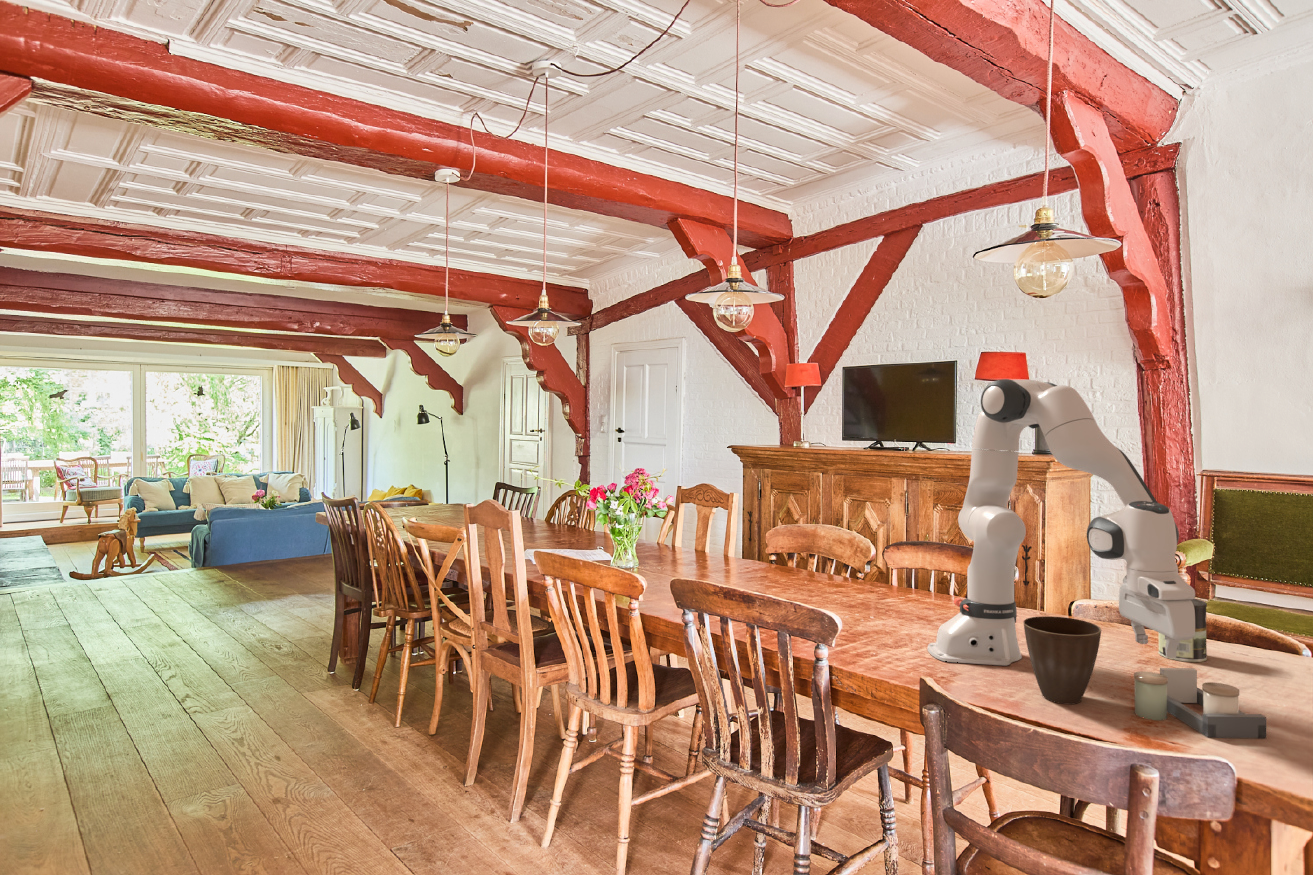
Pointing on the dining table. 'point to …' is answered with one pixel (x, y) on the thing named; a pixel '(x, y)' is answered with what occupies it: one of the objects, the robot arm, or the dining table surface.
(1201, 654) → the coffee can
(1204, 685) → the cream jar
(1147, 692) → the sage jar
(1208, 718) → the tray
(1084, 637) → the plant pot
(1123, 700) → the dining table surface
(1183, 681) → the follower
